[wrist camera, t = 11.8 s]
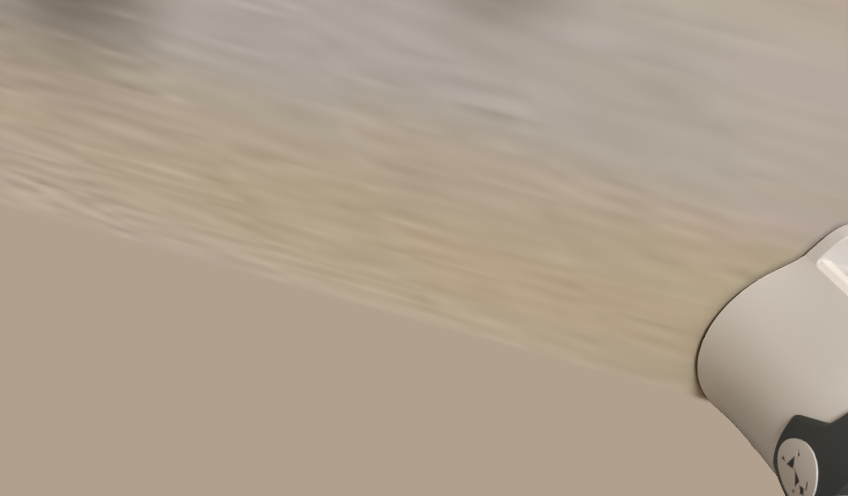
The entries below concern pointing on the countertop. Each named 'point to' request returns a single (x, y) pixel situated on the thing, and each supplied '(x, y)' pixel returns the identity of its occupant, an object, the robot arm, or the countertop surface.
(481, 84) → the countertop surface
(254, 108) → the countertop surface
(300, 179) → the countertop surface
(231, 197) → the countertop surface
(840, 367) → the robot arm
